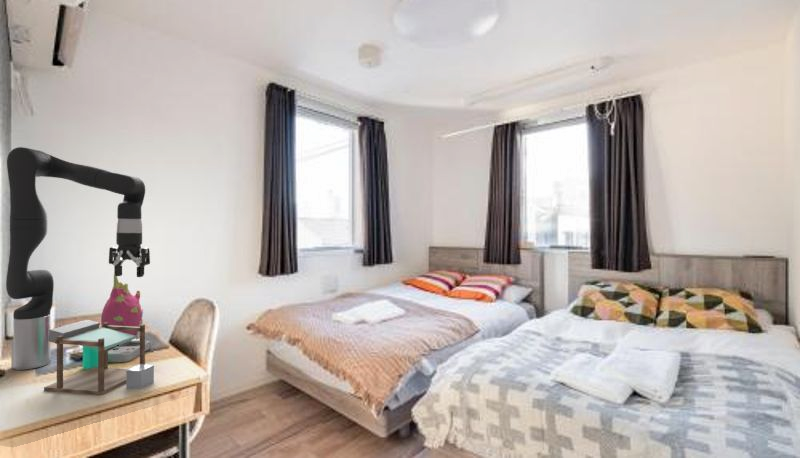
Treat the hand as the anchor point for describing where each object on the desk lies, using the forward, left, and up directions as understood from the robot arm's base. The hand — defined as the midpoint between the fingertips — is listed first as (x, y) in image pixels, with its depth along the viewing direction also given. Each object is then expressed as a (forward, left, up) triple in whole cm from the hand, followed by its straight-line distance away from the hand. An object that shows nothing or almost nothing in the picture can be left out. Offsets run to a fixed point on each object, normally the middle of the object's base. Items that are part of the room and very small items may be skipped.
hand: (129, 276), depth 134 cm
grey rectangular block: (+19, -16, -26) cm, 36 cm away
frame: (+4, -16, -31) cm, 35 cm away
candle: (-9, -5, -31) cm, 33 cm away
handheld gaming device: (-6, +6, -32) cm, 33 cm away
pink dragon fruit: (-18, +16, -31) cm, 39 cm away
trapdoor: (+2, -16, -18) cm, 25 cm away
